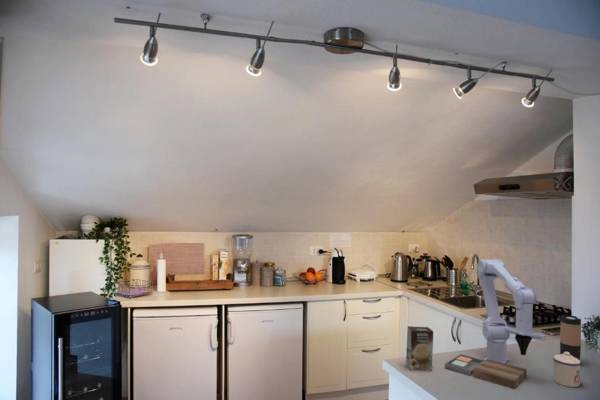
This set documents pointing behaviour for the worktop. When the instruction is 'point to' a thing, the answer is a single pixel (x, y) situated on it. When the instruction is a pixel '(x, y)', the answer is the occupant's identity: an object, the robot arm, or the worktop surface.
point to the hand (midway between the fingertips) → (523, 354)
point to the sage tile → (460, 364)
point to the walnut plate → (500, 373)
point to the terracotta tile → (465, 360)
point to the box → (461, 370)
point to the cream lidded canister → (566, 370)
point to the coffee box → (419, 348)
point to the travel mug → (570, 335)
